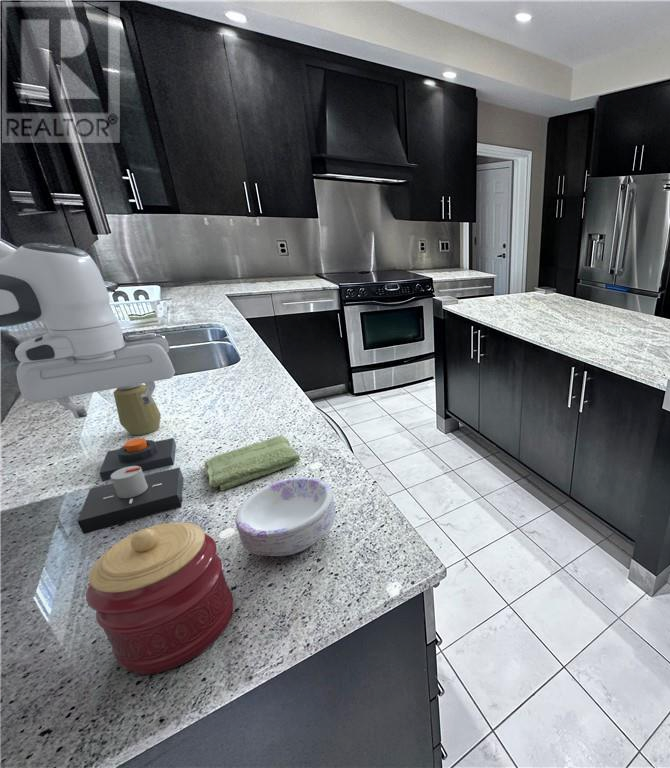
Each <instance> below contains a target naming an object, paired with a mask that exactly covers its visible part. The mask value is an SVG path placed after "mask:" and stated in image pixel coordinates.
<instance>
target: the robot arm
mask: <svg viewBox="0 0 670 768" xmlns="http://www.w3.org/2000/svg"><path fill="white" fill-rule="evenodd" d="M110 300H111V299H110V293H109V291H108V288H107V285H106V283H105V281H104V277H103V276H102V274H101V272H100V270H99V267H98V265H97V264H96V262H95V261H94V259H93V258H92V256H90V254H89V253H87V252H86V251H84V250H83V249H80V248H79V247H75V246H71V245H66V244H60V243H59V244H58V243H45V242H32V243H31V242H30V243H25V244H22V245H21V246H19V247H18V246H16V245H14V244H12V243H11V242H8V241H7V240H5V239H3V238H1V237H0V328H8V327H10V328H11V327H15V326H19V325H22V324H27V323H29V322H30V323H31V322H41V323H43V324H44V325H45V327H46V329H47V331H48V333H45V334H43V335H39V336H37V337H33V338H30V339H27V340H25V341H22V342H21V343H19V345H18V346H16V348H15V351H14V355H15V357H16V359H17V360H18V362H19V364H18V366H17V368H16V381H17V385H18V388H19V391H20V394H21V396H22V398H23V400H25V401H27V402H29V403H31V404H32V403H33V404H35V403H41V402H46V401H52V400H57V402H58V404H59V405H60V406H61V407H63V408H65V409H67V410H68V411H70V412H71V413H72V414H73V417H74V419H76V420H77V419H82V418H86V417H88V413H87V411H86V408H85V405H76V404H75V403H73V402H72V401H71V399H72V397H74V396H80V395H85V394H91V393H97V392H104V391H108V390H114V389H117V388H120V387H126V386H131V385H137V384H142V385H143V384H144V385H146V388H148V389H147V392H146V393H145V394H141V398H142V400H143V404H144V405H146V404H151V403H153V400H154V398H153V393H154V391H155V389H156V383H155V382H158V381H164V380H170V379H172V378H173V377H174V376H175V374H176V371H175V368H174V365H173V363H172V360H171V359H170V357H169V352H170V343H169V341H168V339H167V338H166V337H165V336H164V335H162V334H157V333H155V332H146V333H141V334H128V335H127V334H126V335H124V334H123V331H122V328H121V326H120V323H119V320H118V318H117V316H116V315H115V313H114V312H113V310H112V308H111V306H110ZM151 395H152V396H151ZM152 398H153V399H152Z"/></svg>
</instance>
